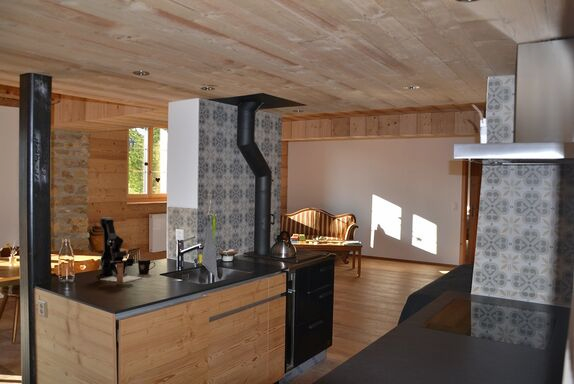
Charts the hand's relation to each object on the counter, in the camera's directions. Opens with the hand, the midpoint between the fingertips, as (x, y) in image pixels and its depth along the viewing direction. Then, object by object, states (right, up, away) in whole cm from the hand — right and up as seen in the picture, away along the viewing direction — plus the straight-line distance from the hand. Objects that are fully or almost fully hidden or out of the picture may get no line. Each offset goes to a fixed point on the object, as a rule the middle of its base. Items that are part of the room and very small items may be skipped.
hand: (120, 273), depth 294 cm
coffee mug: (+5, -6, +34) cm, 35 cm away
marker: (-1, -7, +1) cm, 7 cm away
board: (-5, -6, +15) cm, 17 cm away
